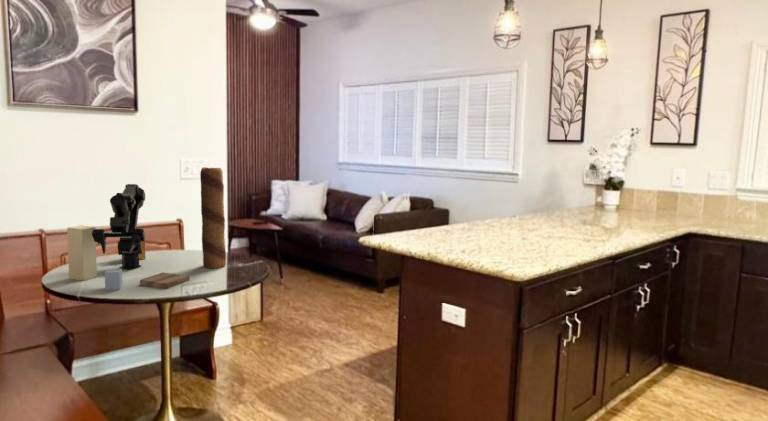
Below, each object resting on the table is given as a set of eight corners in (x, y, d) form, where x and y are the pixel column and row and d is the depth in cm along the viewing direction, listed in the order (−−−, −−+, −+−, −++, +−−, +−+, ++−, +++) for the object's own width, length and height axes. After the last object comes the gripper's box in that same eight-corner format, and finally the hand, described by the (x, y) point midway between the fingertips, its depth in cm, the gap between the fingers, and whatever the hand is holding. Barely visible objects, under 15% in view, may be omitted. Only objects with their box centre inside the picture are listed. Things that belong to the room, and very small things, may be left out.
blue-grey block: (108, 286, 208) (107, 269, 207) (122, 286, 209) (121, 268, 208) (105, 290, 203) (104, 272, 202) (119, 289, 204) (119, 271, 203)
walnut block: (140, 284, 212) (139, 279, 211) (162, 277, 224) (162, 272, 224) (167, 288, 208) (167, 283, 208) (189, 280, 220) (189, 275, 220)
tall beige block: (99, 276, 221) (97, 226, 219) (83, 281, 215) (81, 229, 212) (84, 274, 224) (82, 224, 221) (68, 278, 217) (66, 227, 214)
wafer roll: (196, 267, 242) (194, 167, 236) (212, 262, 252) (211, 166, 246) (215, 270, 238) (214, 168, 232) (230, 265, 248) (229, 167, 242)
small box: (127, 261, 249) (126, 233, 248) (125, 258, 255) (124, 231, 253) (145, 259, 254) (145, 232, 252) (143, 256, 259) (142, 230, 257)
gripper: (91, 208, 211) (85, 241, 202) (143, 208, 216) (139, 240, 207) (97, 225, 220) (91, 257, 210) (146, 224, 225) (143, 256, 215)
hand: (116, 252), depth 211 cm, fingers open, 9 cm apart
